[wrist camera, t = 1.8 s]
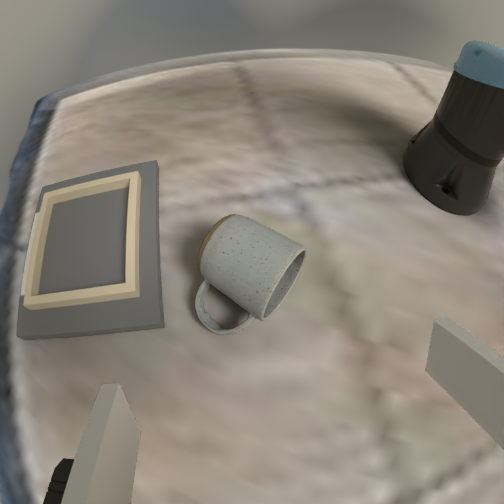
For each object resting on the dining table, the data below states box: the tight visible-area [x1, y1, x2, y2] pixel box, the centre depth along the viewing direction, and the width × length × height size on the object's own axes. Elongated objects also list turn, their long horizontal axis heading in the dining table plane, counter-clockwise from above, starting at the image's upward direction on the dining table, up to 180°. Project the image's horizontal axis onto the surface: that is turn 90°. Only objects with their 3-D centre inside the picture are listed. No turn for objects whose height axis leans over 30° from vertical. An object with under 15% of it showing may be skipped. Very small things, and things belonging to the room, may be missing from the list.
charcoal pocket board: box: [17, 160, 164, 340], centre depth 33 cm, size 18×22×3 cm
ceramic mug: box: [195, 214, 307, 335], centre depth 29 cm, size 11×8×8 cm
